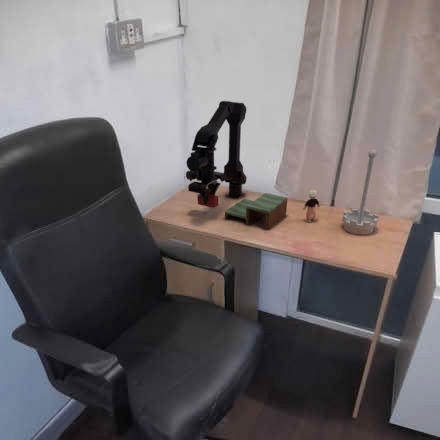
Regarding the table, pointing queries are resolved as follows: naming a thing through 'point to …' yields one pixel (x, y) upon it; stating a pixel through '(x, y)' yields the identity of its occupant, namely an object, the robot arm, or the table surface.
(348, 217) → the flag stand
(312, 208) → the grandmother figurine
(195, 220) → the table surface
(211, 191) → the robot arm
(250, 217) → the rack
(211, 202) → the red rectangular block
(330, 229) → the table surface
